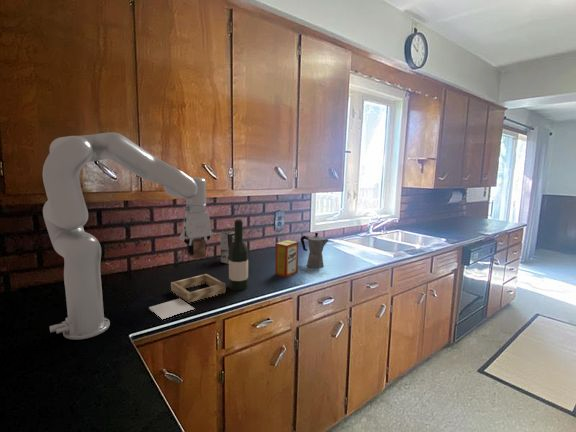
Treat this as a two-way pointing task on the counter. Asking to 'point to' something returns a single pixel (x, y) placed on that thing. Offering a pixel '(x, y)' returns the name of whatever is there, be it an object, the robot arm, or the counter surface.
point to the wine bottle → (238, 260)
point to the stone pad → (171, 308)
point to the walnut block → (198, 248)
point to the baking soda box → (286, 258)
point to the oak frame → (181, 285)
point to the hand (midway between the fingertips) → (197, 252)
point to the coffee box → (226, 245)
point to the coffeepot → (314, 250)
